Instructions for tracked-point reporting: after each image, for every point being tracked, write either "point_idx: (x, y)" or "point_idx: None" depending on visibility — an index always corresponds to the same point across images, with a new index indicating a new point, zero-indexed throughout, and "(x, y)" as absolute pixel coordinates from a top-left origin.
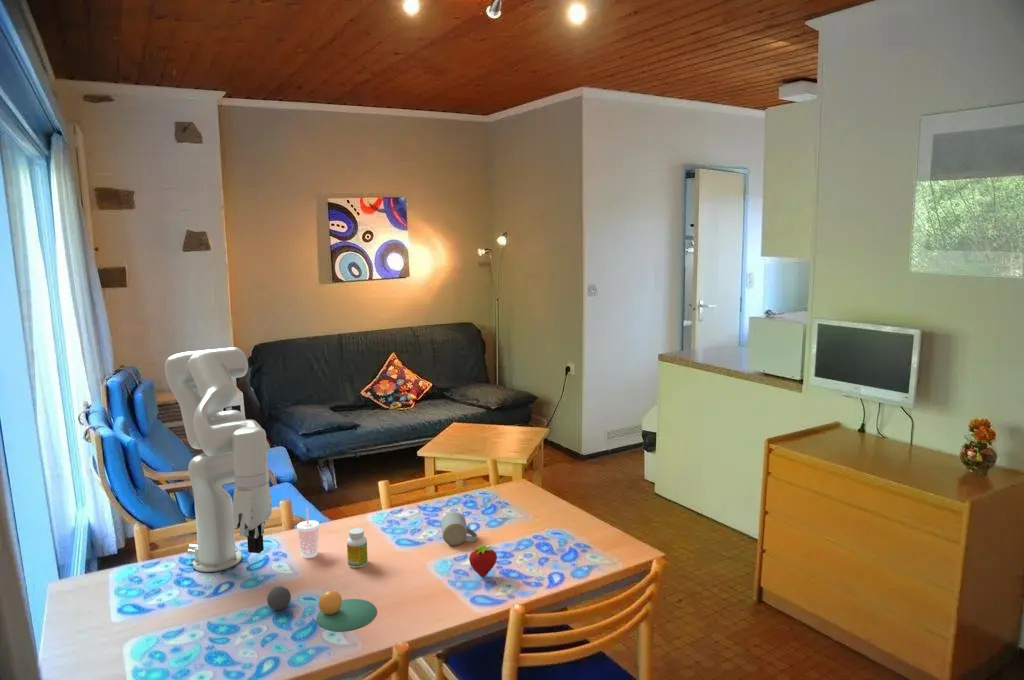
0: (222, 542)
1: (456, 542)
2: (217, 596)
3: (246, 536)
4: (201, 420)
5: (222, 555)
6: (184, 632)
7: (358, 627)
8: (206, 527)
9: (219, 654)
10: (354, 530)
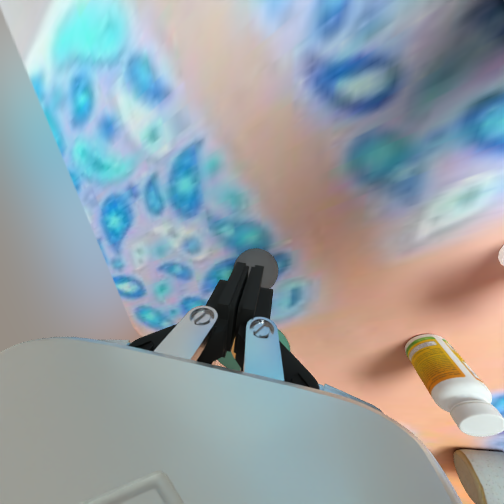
0: None
1: (456, 461)
2: (309, 95)
3: (188, 316)
4: None
5: None
6: (155, 107)
7: (220, 362)
8: None
9: (123, 215)
10: (487, 423)
